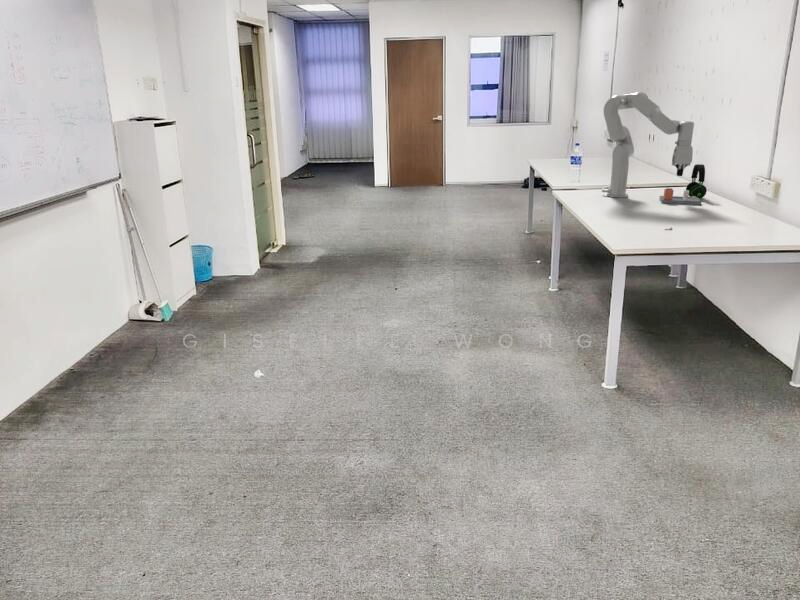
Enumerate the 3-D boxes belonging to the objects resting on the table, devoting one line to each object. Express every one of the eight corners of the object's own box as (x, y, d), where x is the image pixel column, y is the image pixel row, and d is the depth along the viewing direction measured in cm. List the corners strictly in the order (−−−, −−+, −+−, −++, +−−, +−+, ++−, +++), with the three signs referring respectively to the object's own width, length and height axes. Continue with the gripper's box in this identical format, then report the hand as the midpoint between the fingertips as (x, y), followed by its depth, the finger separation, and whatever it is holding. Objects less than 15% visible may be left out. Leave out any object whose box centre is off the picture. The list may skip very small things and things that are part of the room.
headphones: (690, 200, 378) (695, 166, 371) (683, 195, 392) (687, 162, 386) (707, 200, 377) (712, 166, 370) (699, 195, 391) (703, 163, 385)
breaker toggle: (683, 197, 372) (684, 190, 370) (682, 196, 375) (684, 189, 374) (688, 198, 371) (689, 190, 370) (687, 196, 375) (688, 189, 373)
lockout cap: (663, 199, 369) (665, 188, 367) (663, 198, 373) (664, 187, 371) (672, 199, 367) (673, 189, 365) (671, 198, 372) (672, 188, 370)
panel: (661, 203, 368) (662, 197, 367) (659, 199, 381) (660, 193, 380) (700, 205, 362) (701, 199, 361) (697, 200, 375) (698, 195, 374)
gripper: (674, 144, 359) (670, 176, 365) (700, 144, 360) (695, 176, 366) (668, 143, 366) (664, 175, 372) (693, 142, 368) (688, 174, 374)
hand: (679, 175), depth 369 cm, fingers closed
